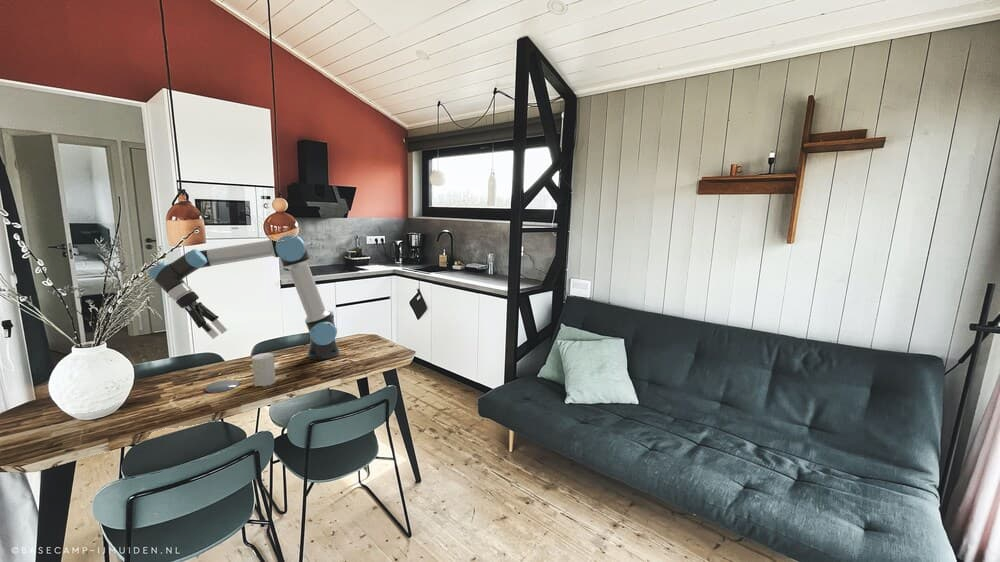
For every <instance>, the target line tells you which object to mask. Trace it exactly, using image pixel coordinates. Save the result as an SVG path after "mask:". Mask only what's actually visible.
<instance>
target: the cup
mask: <svg viewBox="0 0 1000 562" xmlns="http://www.w3.org/2000/svg"><path fill="white" fill-rule="evenodd" d="M251 362H252V363H251V365H252V373H253V374H252V376H253V385H254V387H257V386H263V387H268V386H271V385H274V384H275V383H276V382H277V380H276V370H275V369H276V368H275V357H274V354H273V353H271V352H266V353H265V352H263V353H258V354H256V355H253V356H252V357H251ZM275 381H276V382H275ZM273 383H274V384H273ZM267 385H268V386H267Z"/></svg>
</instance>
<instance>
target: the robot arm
mask: <svg viewBox="0 0 1000 562" xmlns="http://www.w3.org/2000/svg"><path fill="white" fill-rule="evenodd" d="M294 234H295V233H293V234H290V235H285V234H284V235H285V236H283V237H281V238H280V239H279V240H278V241H280V242H276V241H273V240H271V239H270V238H269V239H268V240H263V241H256V242H250V243H249V242H248V243H243V244H235V245H230V246H224V247H222V246H221V247H217V248H210V249H205V250H203V249H202V250H198V249H195V248H194V249H191V250H189V251H187V252H185V253H184V254H183V255H182V256H180V257H178V258H177V259H175V260H173V261H172V262H170V263H167V262H165V261H162V262H160V263H158V264H155V265H154V266H152V267H151V268H150V269H149V270H148V275H149V276H150V277H151V278H152V279H153V281H154V282H155V283H156V284H157V285H158V286H159V287H160V288H161V289H162V290H163V291H164V292H165V293H166V294H167V295H168V298H171V299H172V301H175V303H176V304H177V305H178V307H180V309H184V310H185V312H187V313H188V315H189V316H190V318H191V319H192V321H193V322H194V323H195V325H196V326H197V328H199V329H201V328H202V329H203V330H204V332H205V333H206V334H207V335H208V336H210V337H211V339H213V340H214V339H215V338H217V337H218V336H219V335H220V333H221V334H224V333H225V332H227V331H228V328H227V327H226V326H225V325H224V324H223V323H222V322H221V321H220V320H219V316H218V315H216V314H215V313H214V312H213V311H212V310H210V309H209V308H208V307H207V306H205V305H204V304H203V303H202V302H201V301H199V302H198V300H199V298H200V297H199V295H198V294H197V293H196V292H195V291H194V290H193V289H192V287H190V286H189V285H188V284H187V282H186V281H184V278H185V279H186V277H187V276H189V275H190V274H192V273H194V272H195V271H198V270H199V269H203V268H209V267H212V266H220V265H227V264H232V263H237V262H244V261H250V260H257V259H262V258H268V257H273V258H275V259H276V258H279V259H280V261H281V263H282V266H283V268H285V269H287V270H288V272H289V274H290V277H291V279H292V282H293V284H294V287H295V290H296V293H297V296H298V297H299V300H300V302H301V305H302V307H303V310H304V312H305V313H304V314H305V315H306V318H305V319H304V322H305V325H306V328H307V330H308V332H309V338H310V339H309V340H310V343H309V346H308V349H307V358H308V359H310V360H316V361H319V360H322V361H323V360H328V359H331V358H332V359H333V358H335V357H337V356H339V355H340V348H339V346H338V343H337V341H336V337H337V335H338V329H337V327H336V324H335V314H334V311H331V310H327V309H326V307H325V305H324V302H323V300H322V297H321V295H320V294H321V293H320V292H319V289H318V286H317V284H316V281H315V279H314V278H315V277H314V276H313V274H312V271H311V268H310V265H309V262H310V260H311V258H310V255H309V253H308V250H307V248H306V244H305V243H306V242H305V241H304V239H303V238H302V236H300V235H299V234H297V235H296V236H295V235H294ZM294 236H295V237H294ZM292 237H294V238H292ZM290 238H292V239H290ZM286 239H287V240H286ZM281 240H285V241H281ZM192 290H193V291H192ZM206 319H207V320H208V321H210V322H211V323H209V322H207V321H206ZM211 324H212V325H213V326H214V327H213V326H212V325H211ZM215 328H216V330H215ZM217 330H218V331H217Z"/></svg>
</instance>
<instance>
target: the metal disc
mask: <svg viewBox="0 0 1000 562" xmlns="http://www.w3.org/2000/svg"><path fill="white" fill-rule="evenodd" d="M238 386H240V381H239V380H236V379H226V380H225V379H224V380H220V381H216V382H212V383H210V384H208V385H207V386H205V387H204V391H205V392H206V391H207V392H206V393H209V392H212V393H211V394H217V393H216V392H219V393H224V392H228V391H230V389H231V390H234V389H235V387H236V388H237V387H238ZM233 388H234V389H233ZM227 390H228V391H227ZM223 391H224V392H223ZM214 392H215V393H214Z"/></svg>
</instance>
